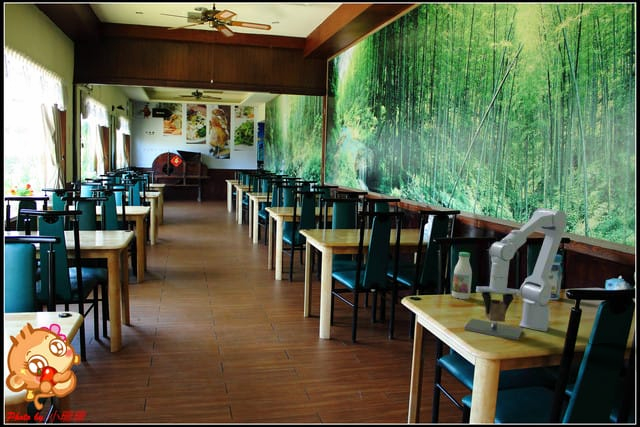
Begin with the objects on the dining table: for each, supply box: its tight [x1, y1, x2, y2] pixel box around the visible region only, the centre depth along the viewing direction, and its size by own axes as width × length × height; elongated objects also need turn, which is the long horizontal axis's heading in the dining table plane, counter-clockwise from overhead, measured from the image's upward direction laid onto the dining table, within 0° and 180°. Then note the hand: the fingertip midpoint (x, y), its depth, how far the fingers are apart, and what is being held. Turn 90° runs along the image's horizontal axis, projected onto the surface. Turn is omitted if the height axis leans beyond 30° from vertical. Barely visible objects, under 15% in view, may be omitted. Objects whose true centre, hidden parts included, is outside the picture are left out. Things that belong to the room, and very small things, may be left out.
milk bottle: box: [451, 251, 473, 300], centre depth 232 cm, size 8×8×20 cm
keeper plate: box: [464, 318, 524, 342], centre depth 188 cm, size 18×12×5 cm, turn 62°
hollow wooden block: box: [485, 298, 507, 323], centre depth 187 cm, size 5×7×6 cm
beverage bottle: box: [548, 253, 563, 301], centre depth 242 cm, size 8×8×20 cm
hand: (495, 313), depth 187 cm, fingers closed on hollow wooden block, 5 cm apart
